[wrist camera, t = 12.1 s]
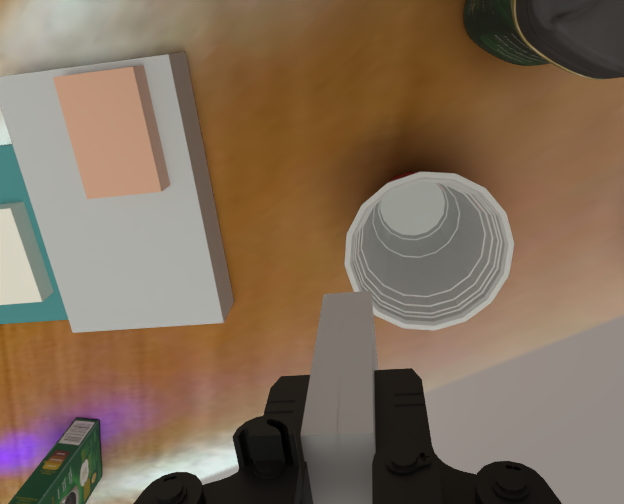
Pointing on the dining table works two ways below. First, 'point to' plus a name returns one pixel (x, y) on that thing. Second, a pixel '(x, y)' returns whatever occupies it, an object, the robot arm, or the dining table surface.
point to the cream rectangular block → (20, 259)
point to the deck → (123, 210)
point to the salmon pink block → (113, 131)
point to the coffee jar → (552, 33)
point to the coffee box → (66, 468)
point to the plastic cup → (429, 250)
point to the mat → (11, 188)
